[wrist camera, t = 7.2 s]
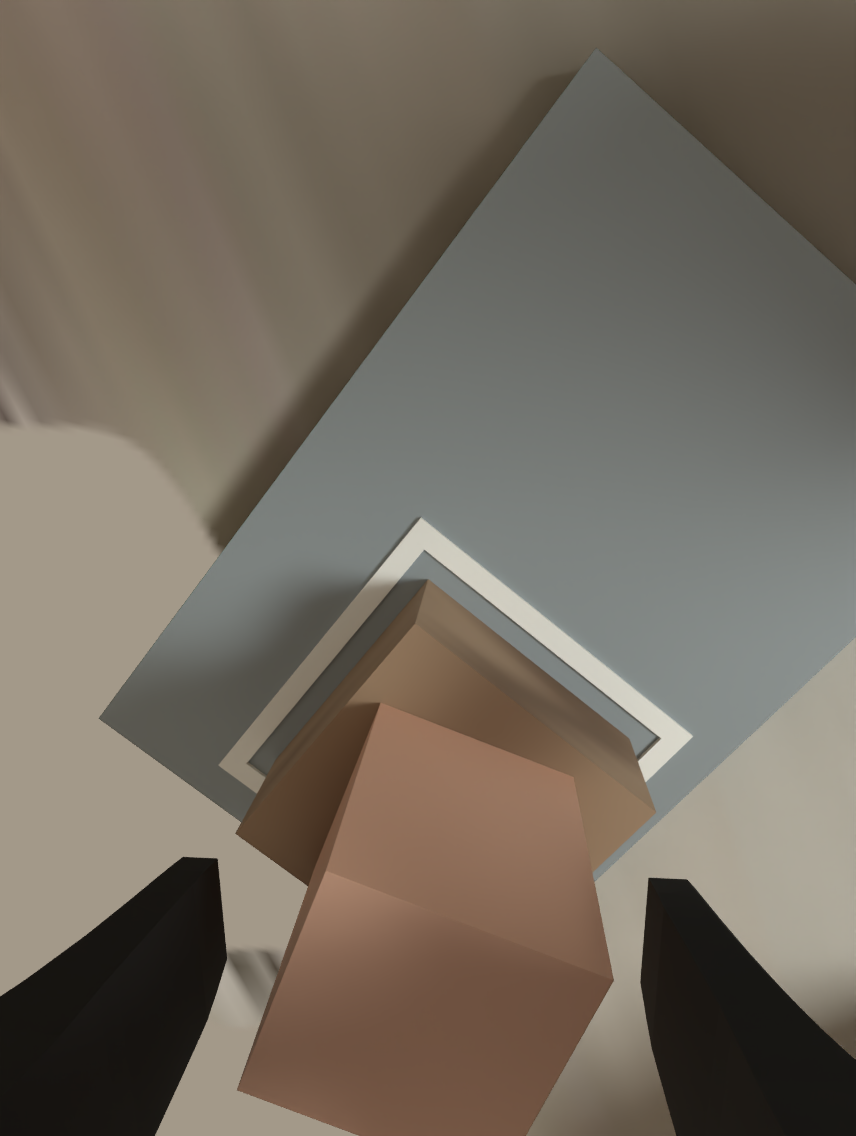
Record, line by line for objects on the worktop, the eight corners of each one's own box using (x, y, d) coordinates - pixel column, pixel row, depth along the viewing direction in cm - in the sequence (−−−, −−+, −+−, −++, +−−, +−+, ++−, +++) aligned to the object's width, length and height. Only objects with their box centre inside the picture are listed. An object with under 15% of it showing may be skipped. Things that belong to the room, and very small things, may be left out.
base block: (628, 738, 18) (656, 812, 15) (465, 900, 19) (460, 996, 16) (428, 578, 17) (415, 623, 14) (275, 759, 18) (235, 833, 16)
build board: (1013, 452, 16) (1049, 459, 15) (476, 963, 21) (475, 995, 20) (589, 67, 15) (596, 45, 14) (118, 700, 20) (96, 720, 18)
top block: (573, 777, 15) (613, 980, 10) (494, 934, 16) (496, 1186, 11) (380, 702, 15) (325, 870, 10) (315, 865, 16) (236, 1090, 11)
